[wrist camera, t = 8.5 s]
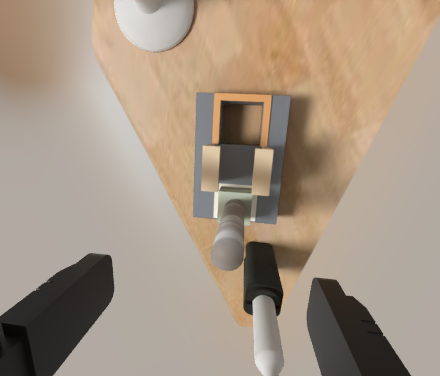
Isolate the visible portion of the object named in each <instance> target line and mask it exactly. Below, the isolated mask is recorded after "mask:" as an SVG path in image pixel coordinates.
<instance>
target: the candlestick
mask: <svg viewBox="0 0 440 376" xmlns="http://www.w3.org/2000/svg"><path fill="white" fill-rule="evenodd" d="M114 7H115V14H116V18H117V22H118V24H119V26H120V29H121V30H122V32H123V34H124V35H125V36H126V38H127V39H128V40H129V41H130V42H131V43H133V44H134V45H135V46H137V47H138V48H140V49H142V50H145V51H148V52H164V51H167V50H169V49H171V48H173V47H175V46H176V45H177V44H179V43H180V42H181V41H182V40H183V38H184V37H185V36H186V34H187V33H188V31H189V29H190V26H191V24H192V20H193V15H194V0H114Z"/></svg>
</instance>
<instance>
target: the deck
mask: <svg viewBox="0 0 440 376" xmlns="http://www.w3.org/2000/svg"><path fill="white" fill-rule="evenodd" d="M290 99H291V96H278V95H257V94H230V93H197V94H196V131H195V167H194V204H193V217H199V218H210V219H217V214H218V195H219V191H218V192H209V191H201V179H202V150H203V145H207V144H217V146H221V153H220V172H219V190H220V187H221V186H226V187H239V188H252V180H253V168H254V157H255V148H258V149H262V147H269V148H271V149H273V150H274V151H273V161H272V171H271V180H270V190H269V196H261V195H252V207H251V218H250V222H255V223H267V224H276V221H277V213H278V204H279V195H280V186H281V178H282V169H283V160H284V152H285V143H286V134H287V126H288V117H289V108H290ZM223 104H238V105H262V116H261V127H260V138H259V145H243V144H225V143H221V138H222V119H223Z"/></svg>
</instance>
